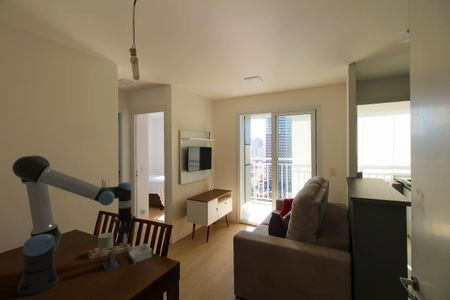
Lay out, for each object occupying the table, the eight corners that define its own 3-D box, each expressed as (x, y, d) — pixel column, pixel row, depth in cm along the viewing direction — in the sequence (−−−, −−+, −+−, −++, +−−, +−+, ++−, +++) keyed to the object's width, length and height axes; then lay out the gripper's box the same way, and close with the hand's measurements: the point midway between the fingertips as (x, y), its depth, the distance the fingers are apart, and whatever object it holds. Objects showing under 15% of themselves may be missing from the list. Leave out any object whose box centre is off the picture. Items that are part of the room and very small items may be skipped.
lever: (89, 261, 115) (90, 253, 116) (86, 252, 125) (87, 245, 125) (131, 252, 130) (132, 245, 130) (125, 245, 139) (126, 239, 139)
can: (108, 256, 136) (108, 237, 136) (94, 255, 136) (94, 237, 136) (116, 249, 145) (116, 232, 145) (102, 249, 145) (103, 231, 145)
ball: (92, 255, 117) (93, 249, 117) (91, 253, 120) (92, 247, 120) (99, 254, 119) (99, 248, 120) (98, 252, 122) (98, 246, 122)
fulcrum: (106, 271, 118) (106, 257, 119) (102, 264, 126) (102, 250, 126) (119, 267, 123) (119, 253, 123) (115, 260, 131) (115, 247, 131)
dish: (134, 263, 128) (134, 254, 128) (128, 256, 136) (128, 248, 136) (152, 257, 135) (152, 249, 135) (145, 251, 143) (146, 243, 143)
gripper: (114, 210, 129) (114, 248, 129) (137, 206, 138) (137, 242, 137) (112, 207, 135) (111, 244, 135) (133, 204, 143) (133, 239, 143)
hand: (124, 243), depth 136 cm, fingers closed
